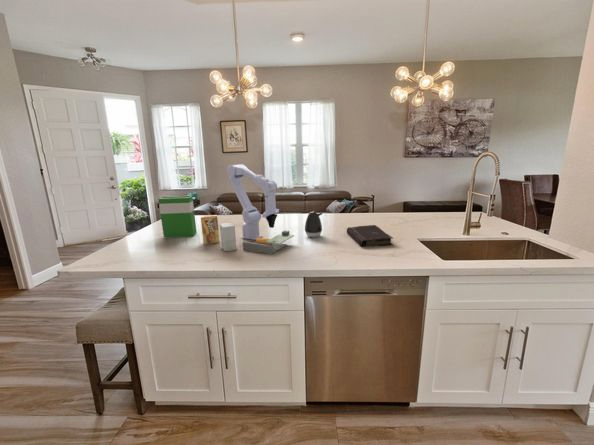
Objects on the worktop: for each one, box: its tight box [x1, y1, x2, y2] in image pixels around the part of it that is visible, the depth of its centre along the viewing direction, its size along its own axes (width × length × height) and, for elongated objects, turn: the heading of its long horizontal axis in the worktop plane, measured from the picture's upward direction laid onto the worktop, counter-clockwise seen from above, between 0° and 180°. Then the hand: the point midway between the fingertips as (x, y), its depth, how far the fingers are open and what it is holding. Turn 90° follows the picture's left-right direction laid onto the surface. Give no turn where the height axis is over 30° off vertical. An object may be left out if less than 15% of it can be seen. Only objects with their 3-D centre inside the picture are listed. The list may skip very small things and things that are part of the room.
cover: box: [266, 230, 295, 245], centre depth 154 cm, size 16×8×3 cm, turn 153°
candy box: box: [200, 214, 221, 245], centre depth 164 cm, size 9×4×15 cm, turn 110°
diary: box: [346, 224, 394, 248], centre depth 164 cm, size 19×25×5 cm
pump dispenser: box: [304, 210, 323, 238], centre depth 171 cm, size 10×10×15 cm
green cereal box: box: [157, 195, 198, 238], centre depth 178 cm, size 18×7×24 cm, turn 94°
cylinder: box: [255, 237, 272, 245], centre depth 159 cm, size 10×3×3 cm, turn 63°
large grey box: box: [242, 241, 287, 255], centre depth 155 cm, size 18×15×4 cm
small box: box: [219, 222, 237, 252], centre depth 154 cm, size 8×6×13 cm
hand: (271, 227), depth 163 cm, fingers closed
